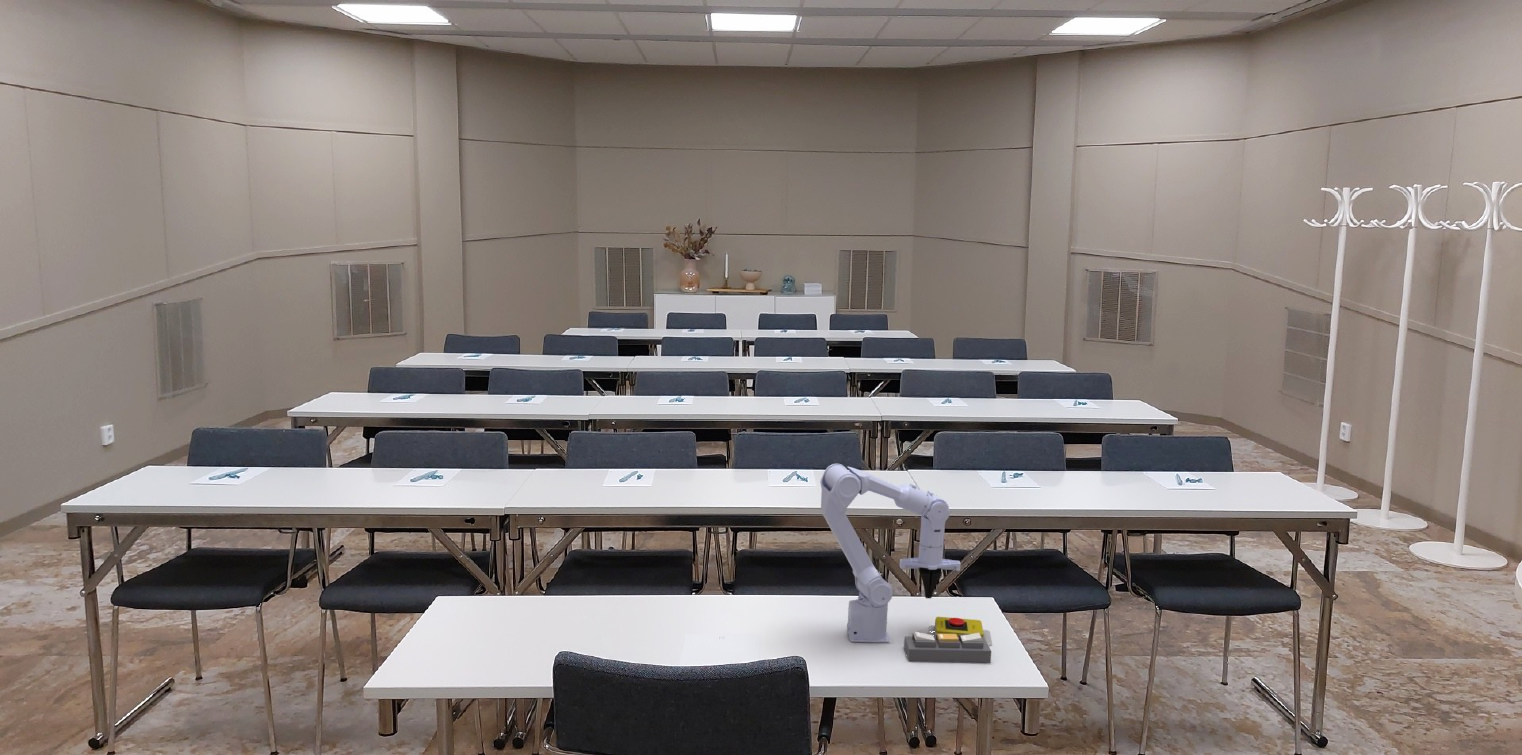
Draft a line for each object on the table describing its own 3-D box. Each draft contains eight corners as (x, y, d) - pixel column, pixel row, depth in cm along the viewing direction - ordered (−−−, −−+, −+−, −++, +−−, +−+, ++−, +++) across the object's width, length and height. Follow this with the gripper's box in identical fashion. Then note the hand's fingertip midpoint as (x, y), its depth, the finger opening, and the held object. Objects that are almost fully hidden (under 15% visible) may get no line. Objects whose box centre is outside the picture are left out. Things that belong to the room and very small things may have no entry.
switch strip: (908, 661, 246) (909, 644, 245) (903, 648, 253) (904, 631, 252) (990, 663, 246) (991, 645, 246) (983, 649, 253) (984, 632, 252)
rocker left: (915, 640, 247) (916, 636, 247) (913, 635, 250) (914, 631, 250) (933, 644, 248) (935, 640, 247) (931, 639, 250) (932, 635, 250)
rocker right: (963, 645, 248) (962, 640, 248) (960, 639, 250) (960, 635, 250) (982, 641, 248) (981, 637, 247) (979, 636, 250) (978, 632, 250)
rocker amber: (939, 643, 247) (939, 638, 247) (937, 637, 250) (937, 633, 250) (958, 643, 248) (958, 638, 247) (955, 637, 250) (956, 633, 250)
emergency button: (929, 610, 266) (990, 616, 264) (928, 627, 266) (989, 632, 264) (930, 626, 256) (993, 631, 255) (929, 643, 257) (992, 648, 255)
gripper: (903, 548, 255) (900, 602, 257) (964, 550, 255) (960, 604, 257) (900, 538, 262) (896, 591, 264) (959, 540, 262) (955, 593, 264)
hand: (927, 596), depth 261 cm, fingers closed
